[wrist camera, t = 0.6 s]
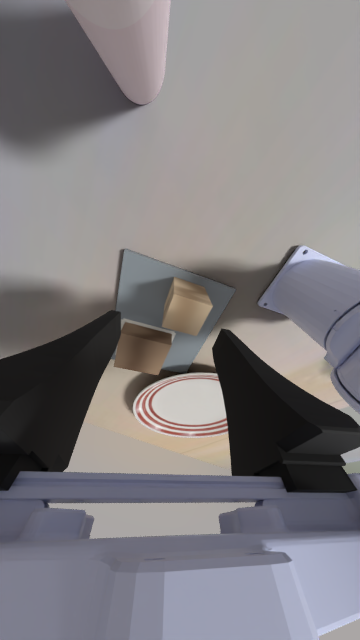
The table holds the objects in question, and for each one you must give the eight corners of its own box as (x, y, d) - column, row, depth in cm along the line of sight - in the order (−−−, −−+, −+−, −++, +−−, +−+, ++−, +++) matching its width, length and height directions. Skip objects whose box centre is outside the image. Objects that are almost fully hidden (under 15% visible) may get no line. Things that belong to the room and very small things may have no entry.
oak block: (204, 287, 19) (212, 306, 14) (192, 312, 21) (196, 336, 17) (174, 276, 18) (174, 293, 14) (164, 304, 20) (161, 326, 16)
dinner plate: (125, 417, 39) (121, 432, 36) (153, 345, 24) (151, 361, 22) (217, 429, 45) (220, 443, 42) (283, 377, 31) (293, 392, 28)
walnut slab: (171, 333, 23) (171, 345, 21) (159, 363, 26) (158, 375, 24) (125, 321, 21) (119, 332, 19) (118, 354, 25) (113, 366, 23)
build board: (234, 288, 19) (236, 290, 19) (185, 371, 29) (185, 374, 28) (125, 248, 16) (124, 249, 16) (109, 355, 26) (108, 358, 25)
